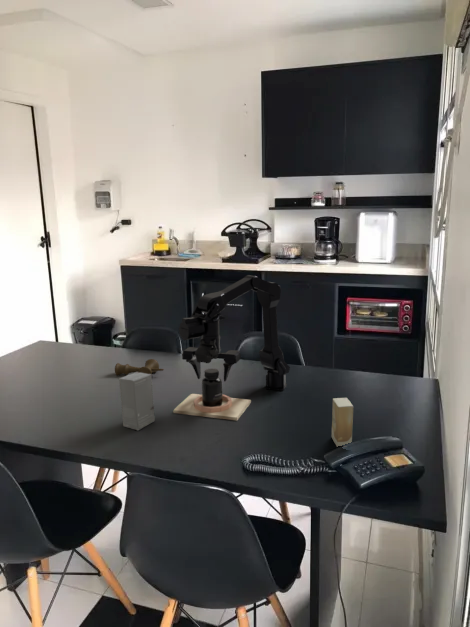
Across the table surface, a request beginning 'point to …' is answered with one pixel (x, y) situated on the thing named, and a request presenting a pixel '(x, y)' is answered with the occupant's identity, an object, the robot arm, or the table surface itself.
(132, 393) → the skincare box
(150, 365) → the kendama
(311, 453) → the table surface
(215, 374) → the supplement bottle
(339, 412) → the skincare box
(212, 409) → the ring collar
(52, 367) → the table surface
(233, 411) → the birch board
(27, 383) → the table surface
